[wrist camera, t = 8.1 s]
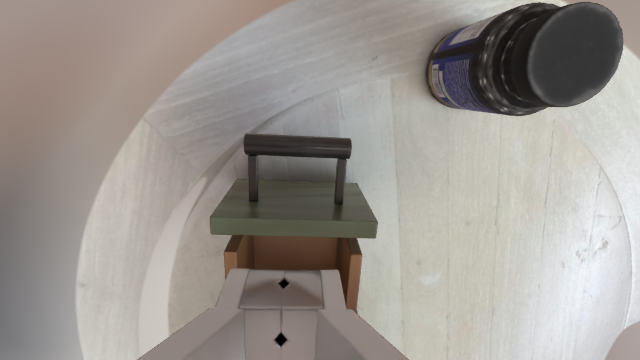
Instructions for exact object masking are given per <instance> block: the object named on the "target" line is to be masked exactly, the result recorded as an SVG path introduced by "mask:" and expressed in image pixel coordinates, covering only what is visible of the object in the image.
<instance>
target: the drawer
mask: <svg viewBox="0 0 640 360" xmlns="http://www.w3.org/2000/svg"><path fill="white" fill-rule="evenodd" d="M351 149H352V143H351V139H350V138H336V137H314V136H292V135H270V134H248V133H247V134H245V137H244V152H245V154H246V155H249V156H248V175H249V179H237V180H236V181H235V183H234V184H233V186H232V187H231V188H230V190H229V191H228V193H227V194H226V195H225V197H224V198H223V200H222V201H221V202H220V204H219V205H218V207H217V208H216V209H215V211H214V212H213V214H212V215H211V216H210V228H211V234H218V235H232V236H231V239H230V241H229V243H228V245H227V247H226V249H225V251H224V263H225V280H226V278H227V275H228V273H229V271H230V270H231V269H232V268H239V269H273V270H338V271H339V274H340V279H341V284H342V289H343V295H344V300H345V305H346V309H352V310H353V311H354V312H355V313H356V309H357V300H358V291H359V282H360V273H361V263H362V253H361V250H360V247H359V244H358V241H357V238H376V233H377V225H378V221H377V220H376V218H375V216H374V214H373V212H372V210H371V208H370V206H369V205H368V203H367V201H366V199H365V197H364V195H363V193H362V191H361V190H360V188H359V186H358V184H357V183H345V174H346V162H347V160H346V159H349V158H350V156H351ZM258 155H267V156H291V157H315V158H337V167H336V181H335V183H333V182H305V181H278V180H258Z"/></svg>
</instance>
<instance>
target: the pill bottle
mask: <svg viewBox="0 0 640 360" xmlns="http://www.w3.org/2000/svg"><path fill="white" fill-rule="evenodd" d="M622 51H623V33H622V29H621V27H620V25H619V21H618V20H617V17H616V16H615V15H614V14H613V13H612V11H610V10H609V9H608V8H606V7H604V6H602V5H600V4H597V3H591V2H580V3H575V4H569V5H566V6H563V7H559V6H556V5H554V4H547V3H540V2H539V3H531V4H526V5H522V6H519V7H516V8H513V9H511V10H508V11H506V12H503V13H501V14H498V15H495V16H493V17H490V18H487V19H485V20H482V21H480V22H477V23H474V24H472V25H469V26H466V27H464V28H461V29H459V30H456V31H454V32H452V33H450V34H448V35H446V36H445V37H444V38H443V39H441V41H440V42H439V43H438V44H437V45H436V47H435V48H434V50H433V52H432V54H431V56H430V59H429V61H428V65H427V83H428V86H429V89H430V90H431V93H432V95H433V96H434V97H435V98H436V99H437V100H438V101H439V102H440V103H442V104H444V105H446V106H448V107H451V108H457V109H466V110H473V111H480V112H488V113H496V114H503V115H509V116H510V115H511V116H525V115H530V114H533V113H536V112H539V111H541V110H543V109H546V108H547V107H569V106H574V105H577V104H580V103H582V102H585V101H587V100H588V99H590V98H592V97H593V96H594V95H596V94H597V93H598V92H600V91H601V90H602V89H603V88H604V87H605V86H606V84H607V83H608V82H609V81H610V79H611V78H612V76H613V74H614V73H615V71H616V70H617V68H618V64H619V62H620V59H621V55H622Z"/></svg>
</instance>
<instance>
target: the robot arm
mask: <svg viewBox="0 0 640 360" xmlns="http://www.w3.org/2000/svg"><path fill="white" fill-rule="evenodd" d="M137 360H409V359H408V358H406V357H405V356H404V355H403V354H402V353H401V352H400V351H398V350H397V349H396V348H395V347H394V346H393V345H392V344H391V343H389V342H388V341H387V340H386V339H385V338H384V337H383V336H381V335H380V334H379V333H378V332H377V331H376V330H375V329H374V328H372V327H371V326H370V325H369V324H368V323H367V322H366V321H364V320H363V319H362V318H361V317H360V316H359V315H358V314H357V313H355V312H354V311H353V310H352V309H346V305H345V300H344V295H343V289H342V284H341V279H340V274H339V271H338V270H273V269H239V268H232V269H231V270H230V271H229V273H228V275H227V278H226V280H225V283H224V286H223V288H222V291H221V293H220V296H219V298H218V301H217V303H216V306H215V308H214V309H207V310H206V311H205V312H203V313H202V314H200V315H199V316H198V317H196V318H195V319H193V320H192V321H191V322H189V323H188V324H186V325H185V326H184V327H182V328H181V329H179V330H178V331H177V332H175V333H174V334H172V335H171V336H170V337H168V338H167V339H165V340H164V341H163V342H161V343H160V344H158V345H157V346H156V347H154V348H153V349H152V350H150V351H149V352H147V353H146V354H144V355H143V356H142V357H140V358H139V359H137Z"/></svg>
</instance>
